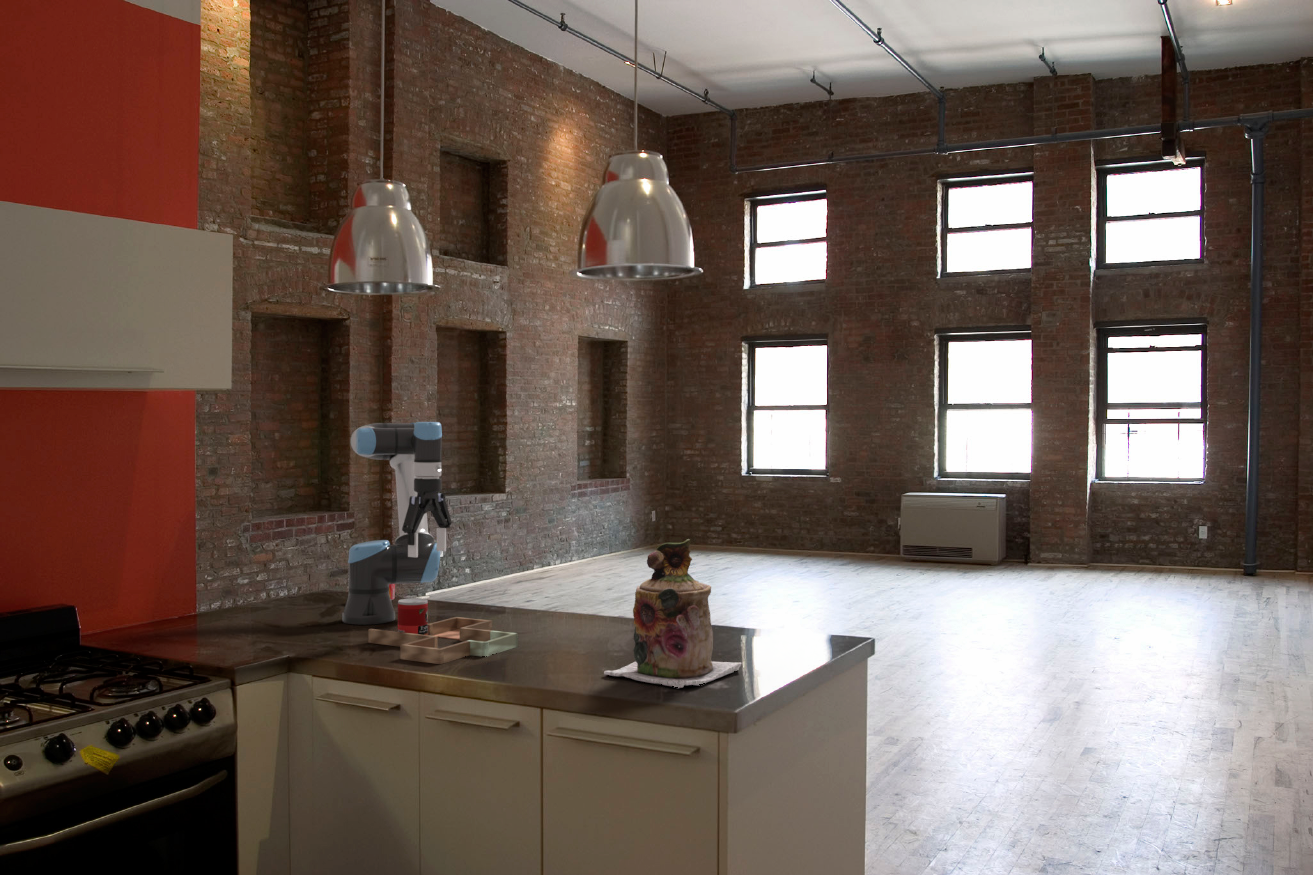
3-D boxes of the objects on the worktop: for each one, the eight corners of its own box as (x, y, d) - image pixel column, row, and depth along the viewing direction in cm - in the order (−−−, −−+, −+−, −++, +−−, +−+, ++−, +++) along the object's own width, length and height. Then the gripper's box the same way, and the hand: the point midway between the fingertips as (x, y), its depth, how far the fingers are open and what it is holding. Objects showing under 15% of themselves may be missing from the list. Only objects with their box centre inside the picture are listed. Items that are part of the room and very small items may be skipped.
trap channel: (336, 650, 284) (336, 637, 284) (431, 626, 318) (431, 614, 318) (456, 666, 267) (456, 651, 267) (542, 638, 301) (542, 625, 301)
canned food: (424, 644, 293) (424, 602, 293) (394, 643, 293) (394, 602, 293) (430, 638, 301) (430, 598, 300) (401, 638, 301) (401, 597, 301)
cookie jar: (659, 658, 277) (660, 531, 276) (745, 671, 263) (745, 537, 262) (599, 677, 256) (600, 539, 256) (688, 692, 242) (689, 547, 242)
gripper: (412, 480, 293) (412, 560, 293) (464, 475, 316) (463, 549, 316) (389, 479, 295) (388, 558, 296) (441, 474, 318) (441, 547, 319)
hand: (427, 554), depth 306 cm, fingers open, 13 cm apart
